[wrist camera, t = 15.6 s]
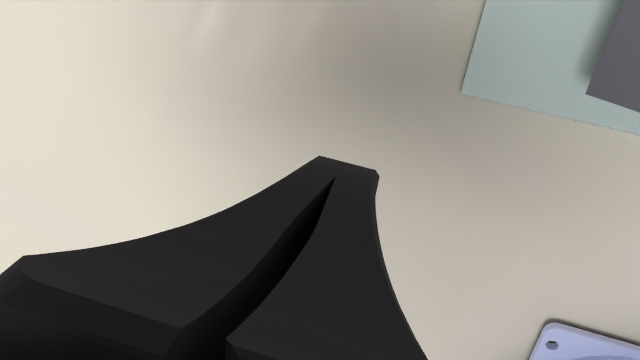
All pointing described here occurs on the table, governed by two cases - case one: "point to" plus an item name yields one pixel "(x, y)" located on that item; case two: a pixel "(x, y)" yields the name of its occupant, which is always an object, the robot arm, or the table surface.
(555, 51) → the sage board
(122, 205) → the table surface
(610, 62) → the black domino
